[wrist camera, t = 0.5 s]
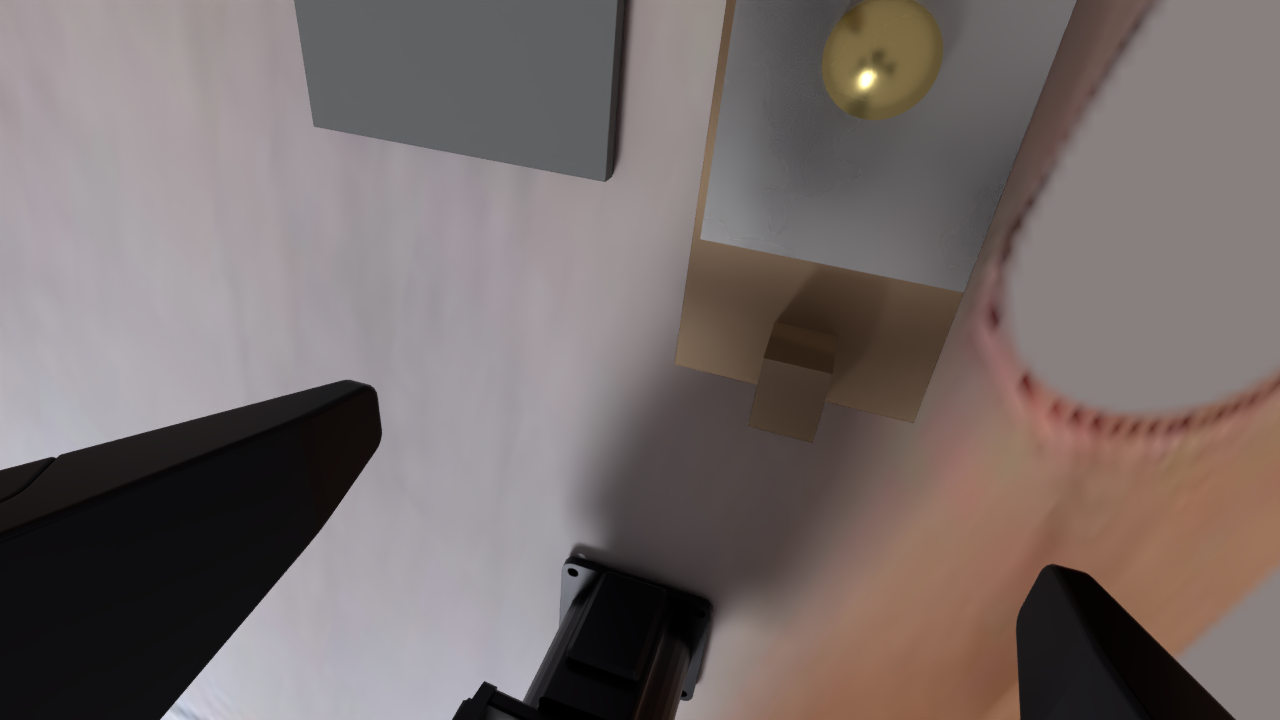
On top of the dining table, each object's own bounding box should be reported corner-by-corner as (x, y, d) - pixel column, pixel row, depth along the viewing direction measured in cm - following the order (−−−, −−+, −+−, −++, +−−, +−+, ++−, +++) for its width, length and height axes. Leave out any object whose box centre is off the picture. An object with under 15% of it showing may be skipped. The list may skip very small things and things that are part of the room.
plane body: (916, 369, 20) (925, 472, 16) (692, 317, 21) (646, 400, 17) (1237, -500, 11) (1453, -790, 7) (815, -486, 12) (783, -717, 8)
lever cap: (942, 213, 15) (967, 304, 11) (743, 177, 16) (693, 248, 12) (1034, -52, 12) (1112, -67, 8) (788, -76, 13) (745, -100, 9)
